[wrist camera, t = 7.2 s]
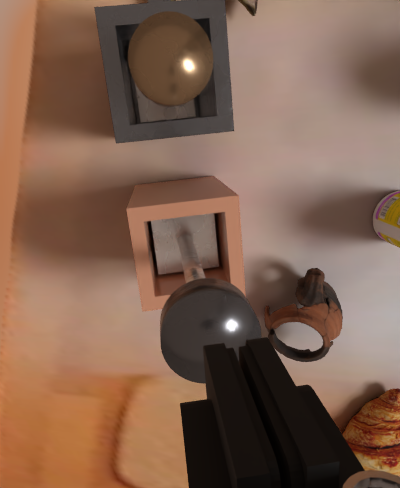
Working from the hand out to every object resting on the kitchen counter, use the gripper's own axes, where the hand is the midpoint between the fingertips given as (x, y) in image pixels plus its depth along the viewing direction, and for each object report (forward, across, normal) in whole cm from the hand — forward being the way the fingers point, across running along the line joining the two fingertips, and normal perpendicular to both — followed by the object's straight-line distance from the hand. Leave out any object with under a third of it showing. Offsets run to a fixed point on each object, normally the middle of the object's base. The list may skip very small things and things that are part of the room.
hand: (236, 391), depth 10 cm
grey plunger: (+27, -1, +3) cm, 27 cm away
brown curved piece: (+36, -15, +16) cm, 42 cm away
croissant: (+36, -25, +40) cm, 60 cm away
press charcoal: (+36, 0, -12) cm, 38 cm away
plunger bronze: (+35, 0, -11) cm, 36 cm away
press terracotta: (+36, -1, +4) cm, 36 cm away
